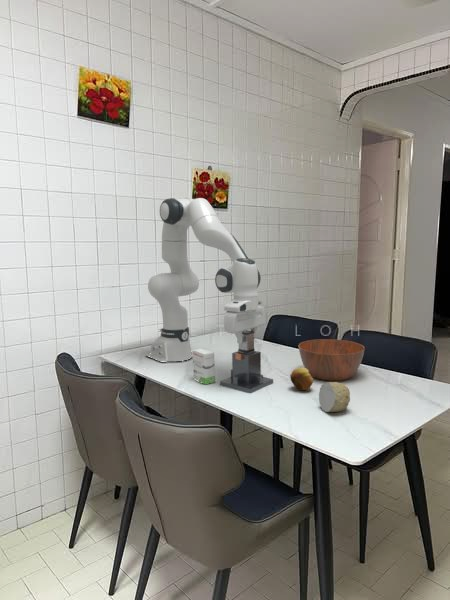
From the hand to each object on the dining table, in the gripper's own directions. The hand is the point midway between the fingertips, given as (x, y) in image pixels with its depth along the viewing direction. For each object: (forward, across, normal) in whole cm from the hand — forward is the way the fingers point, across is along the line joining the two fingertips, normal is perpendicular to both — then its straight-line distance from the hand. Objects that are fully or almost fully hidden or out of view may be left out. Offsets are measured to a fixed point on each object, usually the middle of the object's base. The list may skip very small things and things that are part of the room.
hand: (246, 341), depth 161 cm
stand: (+16, 0, 0) cm, 16 cm away
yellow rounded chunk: (+16, +3, +37) cm, 41 cm away
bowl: (+16, -29, +19) cm, 38 cm away
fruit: (+16, -7, +19) cm, 26 cm away
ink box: (+16, +7, -15) cm, 23 cm away
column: (+14, 0, 0) cm, 14 cm away
